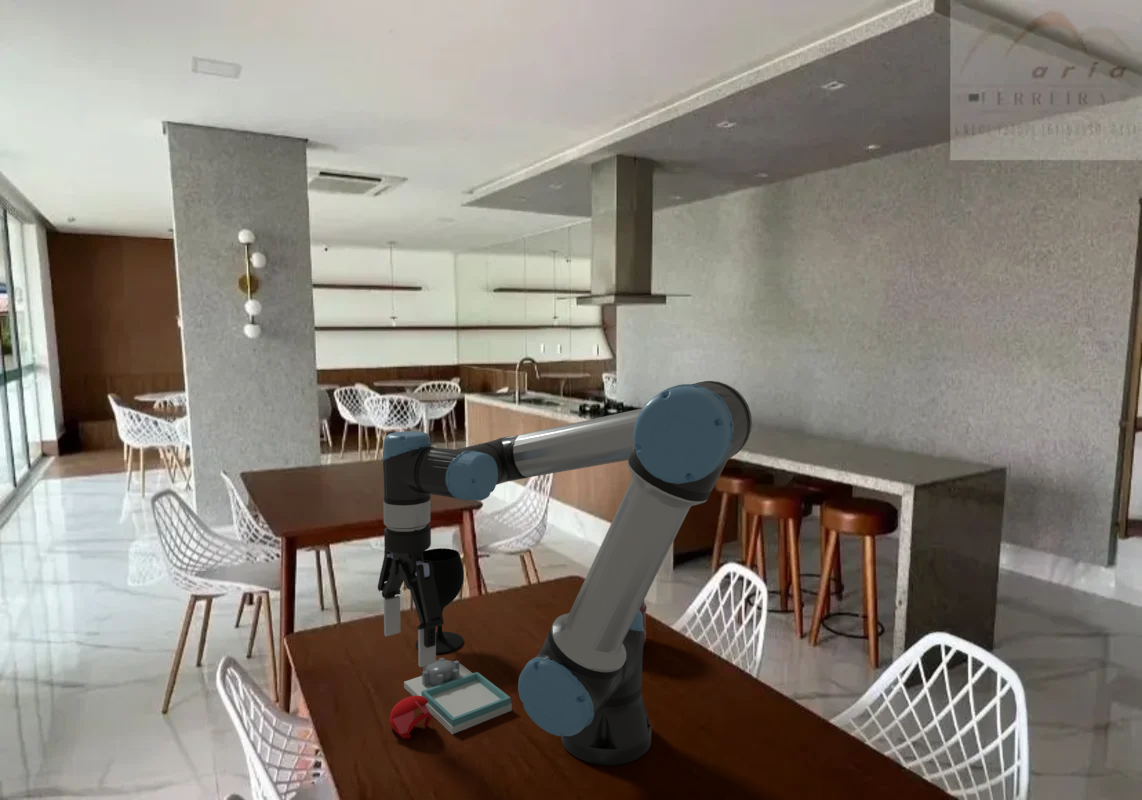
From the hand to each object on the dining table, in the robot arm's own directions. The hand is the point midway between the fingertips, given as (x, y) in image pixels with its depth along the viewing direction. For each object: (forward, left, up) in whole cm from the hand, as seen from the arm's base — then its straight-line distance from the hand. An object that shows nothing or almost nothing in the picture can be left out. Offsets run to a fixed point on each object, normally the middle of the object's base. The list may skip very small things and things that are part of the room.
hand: (409, 648), depth 114 cm
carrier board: (+4, -11, -14) cm, 19 cm away
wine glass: (+26, -19, -15) cm, 35 cm away
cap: (0, 0, -15) cm, 15 cm away
